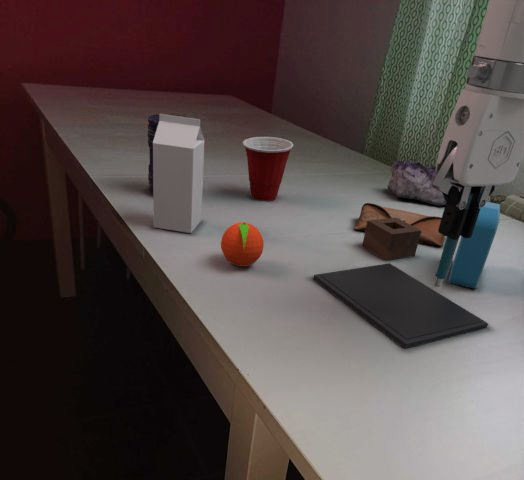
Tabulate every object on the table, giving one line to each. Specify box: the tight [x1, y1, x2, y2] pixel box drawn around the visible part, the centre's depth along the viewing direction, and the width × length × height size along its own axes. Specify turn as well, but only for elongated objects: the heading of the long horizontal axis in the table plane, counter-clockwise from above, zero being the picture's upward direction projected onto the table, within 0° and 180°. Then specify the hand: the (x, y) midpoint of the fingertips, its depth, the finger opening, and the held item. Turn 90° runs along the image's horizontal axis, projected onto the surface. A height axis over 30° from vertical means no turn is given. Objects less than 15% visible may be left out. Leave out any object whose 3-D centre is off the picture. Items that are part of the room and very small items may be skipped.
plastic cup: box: [242, 136, 294, 202], centre depth 118 cm, size 11×11×12 cm
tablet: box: [313, 262, 489, 349], centre depth 82 cm, size 16×22×1 cm
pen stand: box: [361, 218, 421, 261], centre depth 99 cm, size 7×7×5 cm
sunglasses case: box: [354, 202, 446, 247], centre depth 109 cm, size 18×7×7 cm
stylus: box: [434, 192, 473, 289], centre depth 71 cm, size 2×2×13 cm
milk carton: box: [152, 113, 205, 234], centre depth 96 cm, size 7×7×19 cm
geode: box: [386, 160, 461, 207], centre depth 130 cm, size 20×12×10 cm, turn 80°
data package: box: [448, 201, 501, 290], centre depth 91 cm, size 12×4×12 cm, turn 158°
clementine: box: [220, 221, 265, 267], centre depth 86 cm, size 8×7×7 cm
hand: (454, 234), depth 70 cm, fingers closed on stylus, 1 cm apart
